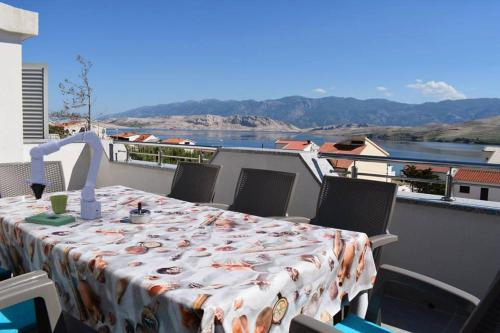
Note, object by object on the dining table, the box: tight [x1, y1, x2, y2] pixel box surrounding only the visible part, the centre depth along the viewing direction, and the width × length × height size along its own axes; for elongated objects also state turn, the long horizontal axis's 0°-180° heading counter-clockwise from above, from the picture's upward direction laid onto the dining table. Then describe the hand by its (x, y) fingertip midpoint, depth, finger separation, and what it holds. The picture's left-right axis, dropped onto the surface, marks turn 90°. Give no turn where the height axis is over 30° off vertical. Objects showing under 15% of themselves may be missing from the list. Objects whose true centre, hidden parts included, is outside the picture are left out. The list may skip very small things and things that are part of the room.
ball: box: [46, 209, 56, 218], centre depth 191 cm, size 4×4×4 cm
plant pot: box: [48, 194, 69, 214], centre depth 210 cm, size 9×9×9 cm
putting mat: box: [24, 212, 76, 227], centre depth 191 cm, size 20×11×2 cm, turn 71°
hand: (38, 199), depth 192 cm, fingers closed
